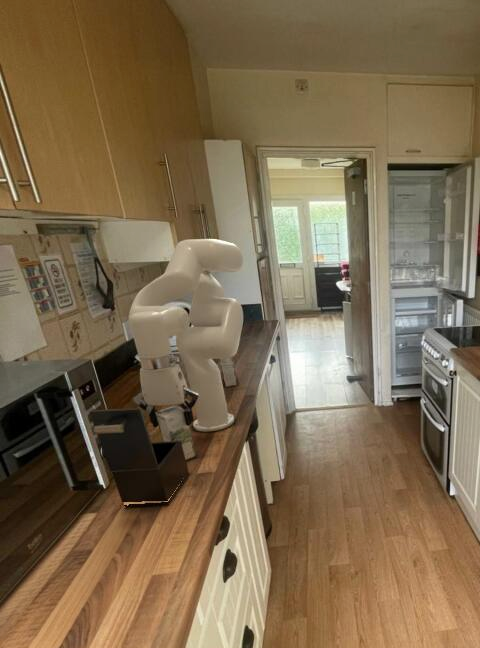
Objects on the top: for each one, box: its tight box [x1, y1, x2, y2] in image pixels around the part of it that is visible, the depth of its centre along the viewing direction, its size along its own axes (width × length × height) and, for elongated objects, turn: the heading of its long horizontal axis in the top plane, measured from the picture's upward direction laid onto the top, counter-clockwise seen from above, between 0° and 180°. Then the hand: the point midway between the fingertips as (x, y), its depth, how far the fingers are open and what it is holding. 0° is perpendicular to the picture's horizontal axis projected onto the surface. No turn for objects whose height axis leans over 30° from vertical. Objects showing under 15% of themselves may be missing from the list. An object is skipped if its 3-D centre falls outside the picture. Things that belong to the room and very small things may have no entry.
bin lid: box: [88, 407, 159, 472], centre depth 89 cm, size 14×10×5 cm
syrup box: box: [155, 405, 197, 461], centre depth 116 cm, size 6×6×14 cm
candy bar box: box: [219, 357, 238, 388], centre depth 173 cm, size 11×5×16 cm, turn 22°
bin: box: [111, 441, 190, 509], centre depth 103 cm, size 14×10×10 cm
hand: (173, 424), depth 115 cm, fingers closed on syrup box, 8 cm apart
